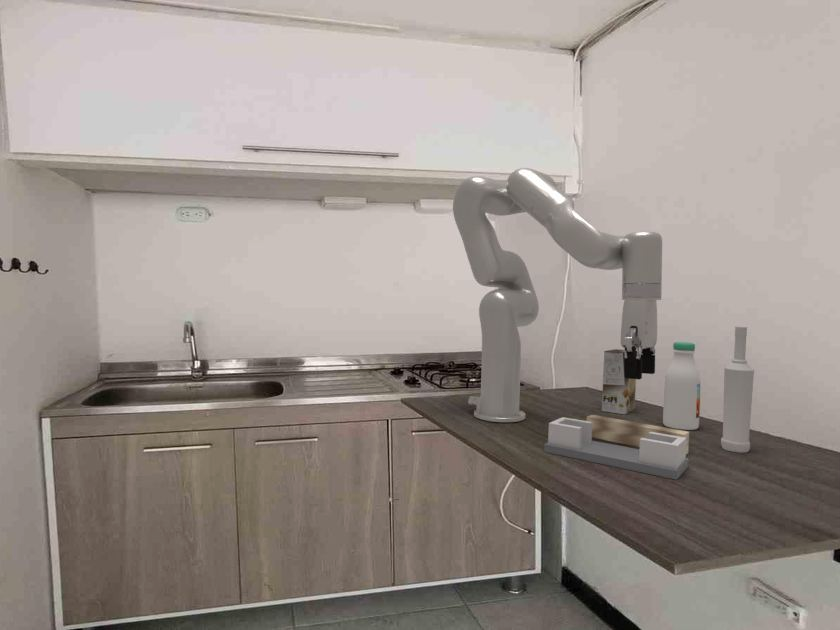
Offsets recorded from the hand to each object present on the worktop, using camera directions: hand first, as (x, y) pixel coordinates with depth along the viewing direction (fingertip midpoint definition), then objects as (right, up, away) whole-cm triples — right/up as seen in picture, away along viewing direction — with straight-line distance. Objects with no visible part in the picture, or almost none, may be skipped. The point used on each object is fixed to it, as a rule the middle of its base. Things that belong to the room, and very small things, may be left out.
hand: (640, 375), depth 113 cm
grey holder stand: (-9, -15, -10) cm, 20 cm away
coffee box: (+8, -13, +34) cm, 37 cm away
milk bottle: (+16, -14, +17) cm, 28 cm away
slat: (-1, -15, +1) cm, 15 cm away
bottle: (+19, -15, -1) cm, 24 cm away
